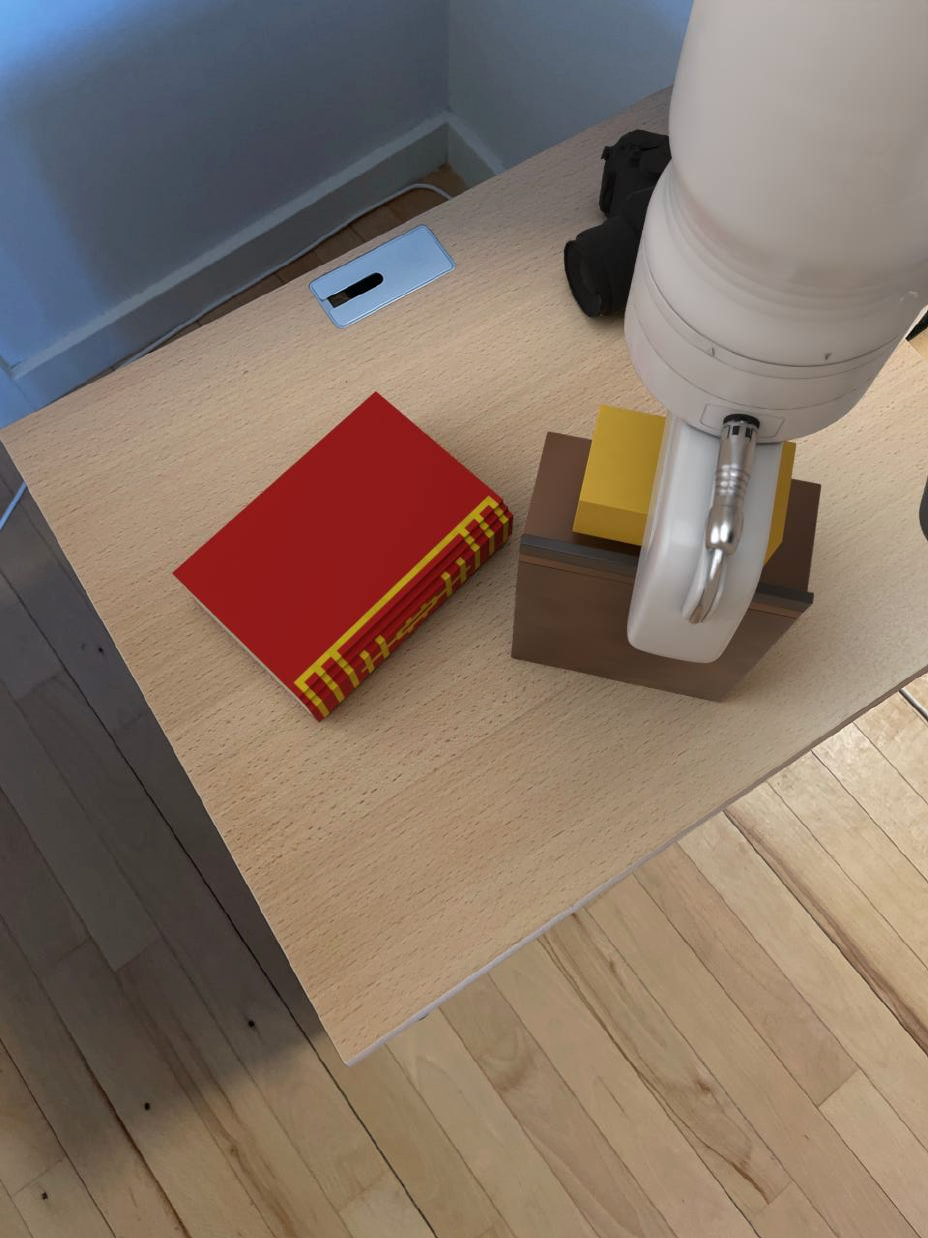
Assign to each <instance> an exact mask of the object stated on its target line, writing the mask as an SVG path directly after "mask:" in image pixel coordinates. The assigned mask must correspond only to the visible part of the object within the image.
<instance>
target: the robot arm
mask: <svg viewBox="0 0 928 1238" xmlns="http://www.w3.org/2000/svg"><path fill="white" fill-rule="evenodd" d="M673 82H674V83H673V87H672V92H671V98H670V103H669V109H668V136H669V144H670V150H671V155H672V159H671V161H670V162H669V164H668V165H667V167H666V168H665V170H664V172H663V173H662V175H661V177H660V178H659V180H658V182H657V184H656V187H655V189H654V191H653V194H652V196H651V199H650V202H649V205H648V209H647V213H646V218H645V223H644V227H643V231H642V236H641V240H640V245H639V250H638V254H637V259H636V264H635V269H634V274H633V279H632V283H631V288H630V292H629V297H628V301H627V306H626V308H625V311H624V323H623V324H624V325H623V328H624V329H623V330H624V340H625V345H626V349H627V352H628V356H629V360H630V362H631V364H632V366H633V369H634V371H635V373H636V374H637V376H638V378H639V380H640V382H641V383H642V384H643V386H644V387H645V389H646V390H647V392H648V393H650V394H651V396H652V397H653V398H654V399H655V401H656V402H658V403H659V404H660V405H661V406H662V407H663V408H664V409H666V410H667V412H666V416H665V417H666V421H665V427H664V432H663V437H662V442H661V448H660V453H659V458H658V463H657V468H656V474H655V479H654V484H653V489H652V495H651V500H650V505H649V510H648V516H647V521H646V526H645V531H644V537H643V542H642V547H641V552H640V558H639V563H638V568H637V573H636V579H635V584H634V589H633V594H632V600H631V605H630V610H629V616H628V623H627V636H628V640H629V642H630V644H631V645H632V646H633V647H635V648H637V649H639V650H642V651H645V652H648V653H652V654H656V655H660V656H664V657H668V658H673V659H679V660H684V661H690V662H698V663H710V662H713V661H715V660H716V659H718V658H719V657H720V656H721V654H722V653H723V651H724V650H725V648H726V646H727V645H728V643H729V641H730V640H731V638H732V636H733V635H734V633H735V631H736V629H737V628H738V626H739V624H740V622H741V620H742V618H743V617H744V615H745V613H746V611H747V609H748V607H749V605H750V603H751V600H752V598H753V595H754V593H755V590H756V587H757V585H758V582H759V578H760V575H761V571H762V568H763V564H764V560H765V555H766V551H767V546H768V541H769V535H770V528H771V522H772V515H773V508H774V501H775V495H776V488H777V481H778V474H779V468H780V461H781V454H782V447H783V441H789V442H790V441H793V440H797V439H801V438H805V437H808V436H810V435H814V434H816V433H817V432H820V431H823V430H825V429H827V428H828V427H830V426H832V425H833V424H835V423H837V422H838V421H839V420H841V419H842V418H844V417H846V415H847V414H849V412H851V411H852V410H853V409H854V408H855V407H856V406H857V405H858V404H859V402H860V401H862V399H863V397H865V394H866V393H867V392H868V390H869V389H870V387H871V386H872V384H873V383H874V381H875V380H876V379H877V377H878V375H880V372H881V371H882V370H883V368H884V366H885V365H886V364H887V362H888V361H889V359H890V358H891V356H892V355H893V353H894V352H895V350H896V349H897V347H898V346H899V345H900V343H901V341H902V340H903V338H904V337H905V336H906V334H907V333H908V331H909V330H910V328H911V326H912V325H913V324H914V323H915V321H916V320H917V318H918V316H919V315H920V313H921V311H922V310H923V309H925V307H927V306H928V0H693V3H692V7H691V11H690V15H689V17H688V23H687V27H686V32H685V34H684V38H683V43H682V47H681V52H680V56H679V59H678V64H677V68H676V73H675V77H674V81H673ZM918 519H919V525H920V528H921V529H920V530H921V532H922V534H923V536H924V538H925V540H926V541H927V542H928V476H927V477H926V480H925V484H924V488H923V492H922V496H921V500H920V503H919V510H918Z"/></svg>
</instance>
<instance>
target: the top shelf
mask: <svg viewBox="0 0 928 1238" xmlns="http://www.w3.org/2000/svg"><path fill="white" fill-rule="evenodd" d="M591 444H592V438H591V439H590V438H585V437H580V436H575V435H571V434H570V435H569V434H565V433H558V432H553V431H547V432H546V435H545V439H544V444H543V447H542V452H541V455H540V456H541V457H540V461H539V465H538V469H537V473H536V478H535V483H534V487H533V491H532V496H531V499H530V504H529V508H528V513H527V516H526V521H525V526H524V530H523V533H521V536H520V540H519V546H518V547H519V549H518V560H520V561H524V562H529V563H534V564H538V565H543V566H548V567H553V568H558V569H563V570H567V571H572V572H577V573H582V574H587V575H592V576H596V577H601V578H606V579H611V580H616V581H621V582H625V583H630V584H635V579H636V573H637V568H638V563H639V558H640V552H641V547H642V546H640V545H635V544H630V543H626V542H621V541H616V540H611V539H607V538H602V537H597V536H592V535H588V534H583V533H578V532H574V531H573V526H574V521H575V517H576V512H577V507H578V503H579V498H580V493H581V489H582V484H583V480H584V475H585V471H586V466H587V462H588V457H589V453H590V448H591ZM821 492H822V484H821V483H817V482H812V481H806V480H802V479H797V478H793V477H792V478H791V484H790V491H789V498H788V505H787V511H786V518H785V525H784V531H783V538H782V542H781V544H780V545H779V546H778V548H777V549H776V550H775V552H774V553H773V555H772V556H771V557H770V559H769V560H768V561H767V563H766V564H765V565H764V567H763V568H762V571H761V575H760V578H759V582H758V585H757V587H756V590H755V593H754V595H753V598H752V600H751V603H750V605H749V607H748V608H751V609H756V610H761V611H766V612H770V613H775V614H780V615H785V616H790V617H795V618H798V619H800V618H801V617H802V616H803V615H804V613H805V612H807V611H808V609H809V608H810V607H811V606H813V604H814V598H815V592H813V591H809V583H810V576H811V568H812V561H813V554H814V552H813V551H814V545H815V537H816V529H817V522H818V515H819V506H820V499H821Z"/></svg>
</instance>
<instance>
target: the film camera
mask: <svg viewBox="0 0 928 1238" xmlns="http://www.w3.org/2000/svg"><path fill="white" fill-rule="evenodd" d="M671 159H672V155H671V150H670V144H669V135H667V134H661V133H657V132H652V131H648V130H645V129H639V128H636V129H634V130H632V131H628V132H626V133H625V134H623V135H621V136H620V137H619V138H618V140H617V141H616V143H615V144H613V145H610V146H609V145H604V148H603V150H602V153H601V156H600V160H604V165H603V171H602V178H601V184H600V192H599V198H598V207H599V210H600V211H601V212H602V213H603V215H604V216H605V217H606V219H605V220H604V221H603V222H602V223H601V224H599V225H596V226H593V227H590V228H587V229H584V230H581V232H580V233H578V234H577V235H576V236H575V239H571V240H568V241H567V242H566V243H565V245H564V248H563V267H564V273H565V277H566V279H567V282H568V286H569V289H570V291H571V295H572V296H573V298H574V300H575V301H576V303H577V305H578V307H579V308H580V309H581V311H582V312H583V314H584V315H585V316H587V317H588V318H591V319H596V318H598V317H601V316H605V317H609V316H612V315H615V314H617V313H619V312H621V311H622V310H626V306H627V301H628V297H629V292H630V288H631V283H632V279H633V274H634V269H635V264H636V259H637V254H638V250H639V245H640V240H641V236H642V231H643V227H644V223H645V218H646V213H647V209H648V205H649V202H650V199H651V196H652V194H653V191H654V189H655V187H656V184H657V182H658V180H659V178H660V177H661V175H662V173H663V172H664V170H665V168H666V167H667V165H668V164H669V162H670V161H671Z"/></svg>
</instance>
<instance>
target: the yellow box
mask: <svg viewBox="0 0 928 1238" xmlns="http://www.w3.org/2000/svg"><path fill="white" fill-rule="evenodd" d="M665 421H666V416H663V415H659V414H653V413H652V414H651V413H647V412H642V411H637V410H632V409H627V408H622V407H616V406H612V405H607V404H603V403H602V404H601V403H600V405H599V407H598V412H597V418H596V422H595V426H594V431H593V436H592V438H591V440H592V444H591V448H590V453H589V457H588V462H587V466H586V471H585V475H584V480H583V484H582V489H581V493H580V498H579V503H578V507H577V512H576V517H575V521H574V526H573V531H574V532H578V533H583V534H588V535H592V536H597V537H602V538H607V539H611V540H616V541H621V542H626V543H630V544H635V545H640V546H642V542H643V537H644V531H645V526H646V521H647V516H648V510H649V505H650V500H651V495H652V489H653V484H654V479H655V474H656V468H657V463H658V458H659V453H660V448H661V442H662V437H663V432H664V427H665ZM796 450H797V442H793V441H790V440H789V441H783V447H782V454H781V461H780V468H779V474H778V481H777V488H776V495H775V501H774V508H773V515H772V522H771V528H770V535H769V541H768V546H767V551H766V555H765V560H764V564H763V567H764V565H765V564H766V563H767V561H768V560H769V559H770V557H771V556H772V555H773V553H774V552H775V550H776V549H777V548H778V546H779V545H780V544H781V542H782V538H783V531H784V525H785V518H786V511H787V505H788V498H789V491H790V484H791V478H792V479H793V470H794V463H795V457H796Z"/></svg>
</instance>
